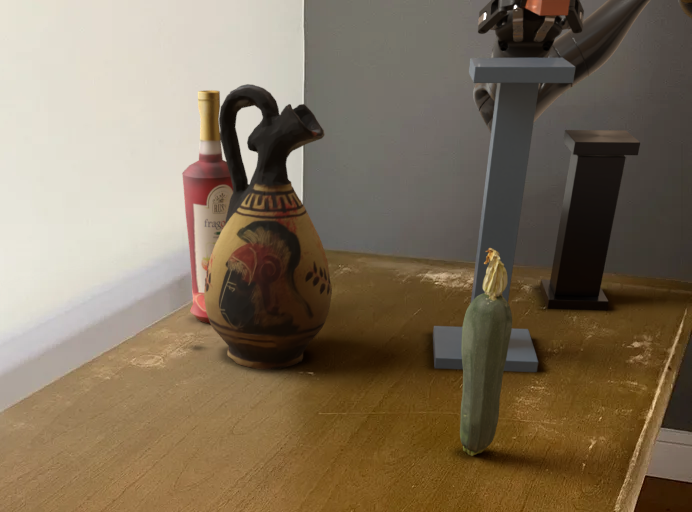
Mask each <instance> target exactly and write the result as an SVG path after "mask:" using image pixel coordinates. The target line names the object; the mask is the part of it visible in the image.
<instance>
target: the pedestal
mask: <svg viewBox="0 0 692 512" xmlns="http://www.w3.org/2000/svg"><path fill="white" fill-rule="evenodd" d="M563 133H564V134H563V139H562V142H563V144H565V146H566V147H567V149H568V150H569V151H570V157H569V164H568V172H567V177H566V182H565V187H564V196H563V200H562V207H561V212H560V219H559V223H558V224H559V225H558V231H557V237H556V243H555V249H554V256H553V260H552V261H553V262H552V267H551V273H550V279H543V278H542V279H540V282H539V283H540V285H539V290H540V293H541V296H542V298H543V301H544V304H545V307H546V309H548V310H570V311H572V310H573V311H603V312H604V311H605V312H607V311H608V306H609V300H608V298H607V296H606V294H605V292H604V291H603V289H602V282H603V276H604V272H605V266H606V261H607V256H608V251H609V246H610V240H611V237H612V230H613V225H614V220H615V216H616V210H617V204H618V198H619V196H620V195H619V194H620V189H621V184H622V180H623V174H624V170H625V165H626V164H625V163H626V158H627V157H626V156H638V155H639V153H640V152H639V151H640V146H641V142H640V141H639V140H638V139H637V138H635V137H634V136H633V135H632V134H631V133H629V132H628V130H625V129H624V130H623V129H621V130H617V129H615V130H613V129H612V130H611V129H565V130H564V132H563Z"/></svg>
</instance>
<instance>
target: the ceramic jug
mask: <svg viewBox="0 0 692 512" xmlns="http://www.w3.org/2000/svg"><path fill="white" fill-rule="evenodd" d="M254 106H255V107H256V108H257V109H259V110H260V112H261V116H262V118H261V121H260V122H259V123H258V124H257V125H256V126H255V127H254V129H253V130H252V131H251V133H250V134H249V136H248V137H247V142H246V144H247V148H248V149H247V150H248V151H251V152H254V153H257V162H256V167H255V170H254V171H253V174H252V177H251V179H250V182H249V179H248V175H247V172H246V168H245V164H244V161H243V157H242V152H241V147H240V142H239V137H238V133H237V128H236V126H237V125H236V124H237V118H238V117H237V115H238V112H239V111H240V110H242V109H245V108H250V107H254ZM219 129H220V139H221V148H222V152H223V154H224V158H225V161H226V162H227V166H228V169H229V173H230V176H231V181H232V186H233V194H232V196H231V198H230V203H229V207H228V212H227V216H226V221H225V227H224V228H223V230H222V231H221V233H220V236H219V238H218V240H217V242H216V244H215V246H214V248H213V252H212V254H211V257H210V261H209V262H208V265H207V272H206V278H205V290H204V299H205V306H206V313H207V316H208V318H209V321H210V323H209V324H210V326H211V327H212V329H213V330H214V332H216V334H217V335H218V336H219V337H220V338H221V339H222V340H223V341H224V342H225V344H226V345H227V346H228V347H227V353H226V354H227V357H229V358H230V359H231V360H232V361H234V363H236V364H237V365H240V366H243V367H248V368H252V369H257V370H278V369H284V368H287V367H291V366H294V365H297V364H299V363H302V361H303V359H304V352H305V350H306V349H307V347H308V346H309V344H310V343H311V342H312V341H313V340H314V339H315V338H316V336H317V335H318V334H319V332H320V331H321V330H322V329H323V327H324V325H325V323H326V320H327V318H328V315H329V313H330V308H331V302H332V296H333V295H332V294H333V289H332V282H331V275H330V274H331V273H330V269H329V262H328V259H327V255H326V252H325V248H324V246H323V242H322V240H321V238H320V236H319V233H318V231H317V229H316V227H315V225H314V223H313V221H312V219H311V216H310V215H309V213H308V211H307V209H306V207H305V205H304V203H303V202H302V200H301V199H300V197H299V196H298V194H297V193H296V190H295V189H294V187H293V185H292V184H293V183H292V181H291V180H290V179H289V176H288V168H287V161H288V157H289V156H290V155H291V153H292V152H293V151H295V150H297V149H300V148H302V147H303V146H305V145H308V144H311V143H313V142H316V141H319V140H323V138H324V137H325V135H326V133H325V130H324V128H322V126H321V124H320V123H319V121H318V119H317V118H316V116H315V114H314V113H313V112H312V110H311V109H310V108H309V107H308V106H307V105H306V104H305V103H302V104H298V105H297V106H296V107H294V108H293V107H292V104H290V103H288V104H286V105H284V108H283V109H282V111H281V112H280V110H279V106H278V102H277V100H276V99H275V97H274V96H273V95H272V93H271V92H270V91H268V90H267V89H266V88H265V87H261V86H259V85H255V84H249V83H247V84H246V83H245V84H242V85H240V86H238V87H236V88H235V89H232V90H231V91H229V93H228V94H227V95H226V97H225V99H224V100H223V102H222V104H221V105H220V111H219Z"/></svg>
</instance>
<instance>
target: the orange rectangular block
mask: <svg viewBox="0 0 692 512" xmlns="http://www.w3.org/2000/svg"><path fill="white" fill-rule="evenodd" d="M569 4H570V0H527V2H526V5H525V7H524V8H526V9H528V10H530V11H532V12H534V13H536V14H538V15H540V16H561V17H562V16H564V17H565V16H567V15H568V10H569Z"/></svg>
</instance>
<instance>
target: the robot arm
mask: <svg viewBox="0 0 692 512" xmlns="http://www.w3.org/2000/svg"><path fill="white" fill-rule="evenodd" d="M526 2H527V0H490V1H488V2H487V4H485V6H484V7H483V8H482V9H481V10H480V11H479V12H478V23H477V33H478V34H480V35H484V34H487V33H488V32H489V31H490V30H491V31H494V34H495V36H496V37H495V40H494V43H493V45H492V49H491V56H490V58H564V59H565V60H567V61H568V62H569V63H571V64H572V65H574V66H575V67H576V68H575V74H574V80H573V83H539V88H538V95H537V102H536V109H535V116H534V123H535V122H536V121H537V120H538V119H539V118H540V117H541V116H542V114H543V113H544V112H545V111H546V110H547V109H548V108H549V107H550V106H551V105H552V104H553V103H554V102H555V101H557V99H558V98H560V97H561V96H562V95H563V94H565V93H566V92H567V91H569V90H570V89H572V88H573V87H574V86H576V85H577V84H579V83H581V82H582V81H584V80H585V79H587V78H588V77H590V76H591V75H592V74H593V73H595V72H597V71H598V70H599V69H600V68H601V67H603V66H604V64H606V63H607V61H609V60H610V58H611V57H612V56H613V55H614V53H615V52H616V51H617V50H618V48H619V47H620V45H621V44H622V42H623V40H624V39H625V38H626V36H627V35H628V32H629V31H630V30H631V28H632V26H633V25H634V23H635V21H636V20H637V18H638V17H639V16H640V15H641V13H642V11H644V9H645V8H646V6H647V5H648V4H649V3H650V2H651V0H607V1H605V2H604V3H603V4H602V5H600V6H599V7H598V8H597V9H595V11H593V12H592V13H591V14H590V15H589V16H587V17H586V18H584V15H585V9H584V7H583V5H582V3H581V1H580V0H570V4H569V10H568V15H567V16H564V18H563V17H562V16H540V15H538V14H536V13H534V12H532V11H530V10H528V9H526V8H524V7H525V5H526ZM677 4H678V5H679V7H680V9H681V11H682V12H683V13H684V14H685V15H686V16H687V17H689V18H690V19H692V0H677ZM565 30H568V31H566V32H565V33H563V34H562V32H563V31H565ZM561 34H562V35H561ZM557 37H558V38H557ZM496 89H497V83H475V85H474V88H473V91H472V98H473V102H474V105H475V107H476V109H477V111H478V112H479V114H480V116H481V118H482V120H483V122H484V123H485V125H486V127H487V129H488V130H489V133H490V134H491V131H492V122H493V114H494V106H495V98H496Z"/></svg>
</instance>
